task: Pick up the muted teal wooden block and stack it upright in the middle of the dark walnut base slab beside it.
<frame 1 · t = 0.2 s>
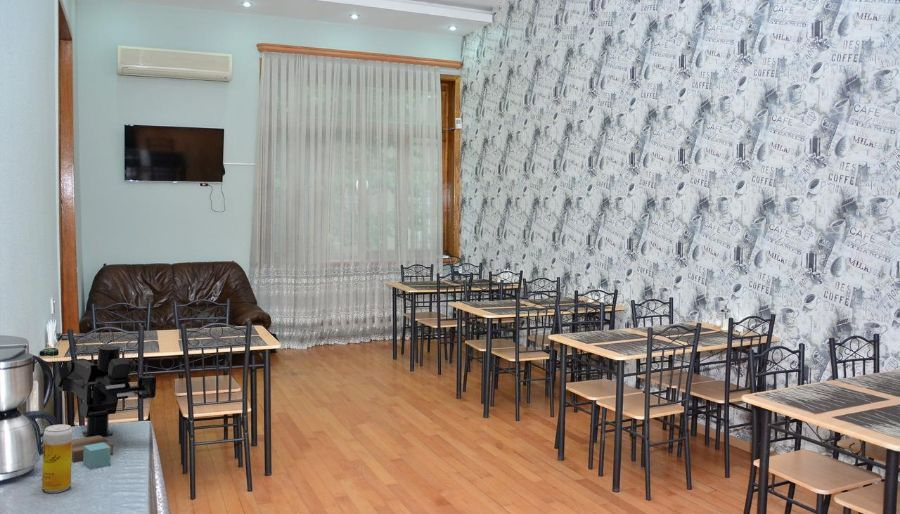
hand: (133, 397, 193), 17 cm above the table, tool horizontal, fingers open, 9 cm apart
block: (96, 465, 188), on the table
beer can: (56, 489, 171), on the table
walnut base: (87, 453, 195), on the table
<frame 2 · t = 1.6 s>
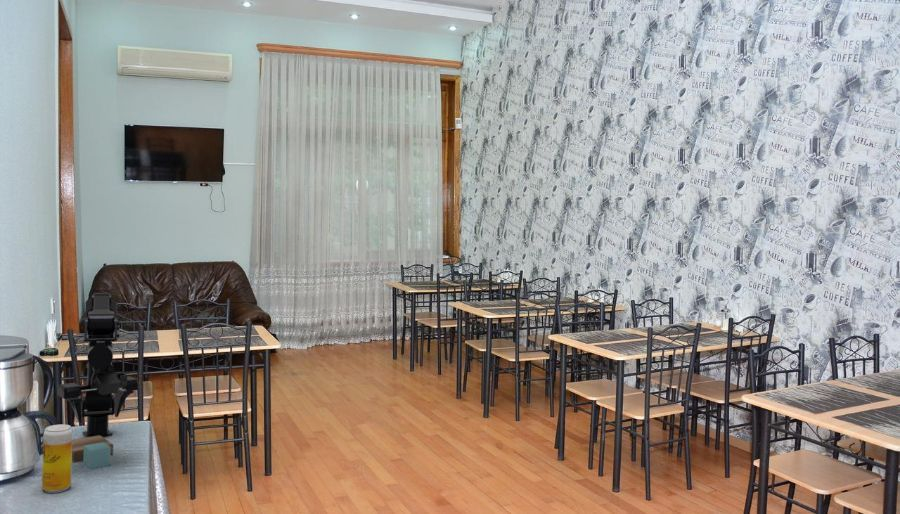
hand: (98, 419, 187), 12 cm above the table, tool pointing down, fingers open, 9 cm apart
nothing on the table moved.
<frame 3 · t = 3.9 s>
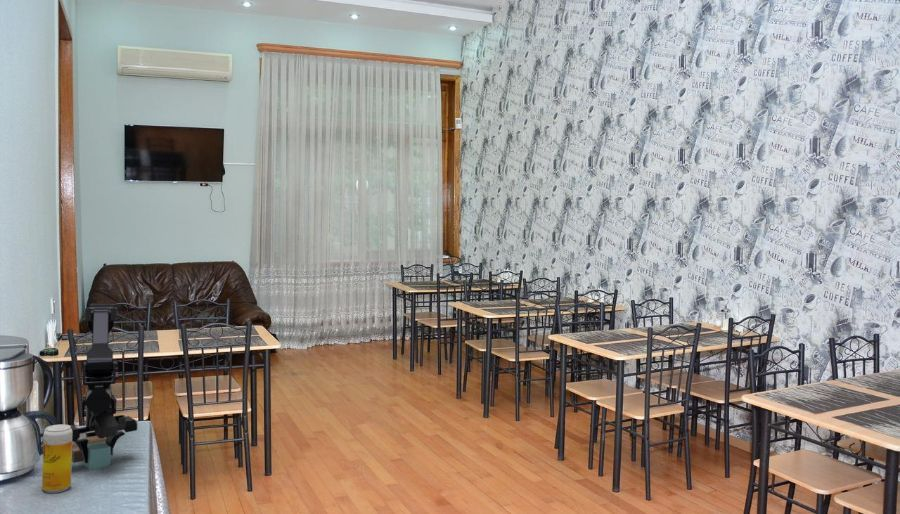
hand: (96, 460, 188), 1 cm above the table, tool pointing down, fingers closed on block, 5 cm apart
block: (96, 464, 188), on the table, touching gripper
everything else where it was.
when the fingers open (5 cm above the table, at t = 8.0 s): block drops 1 cm, resting on walnut base.
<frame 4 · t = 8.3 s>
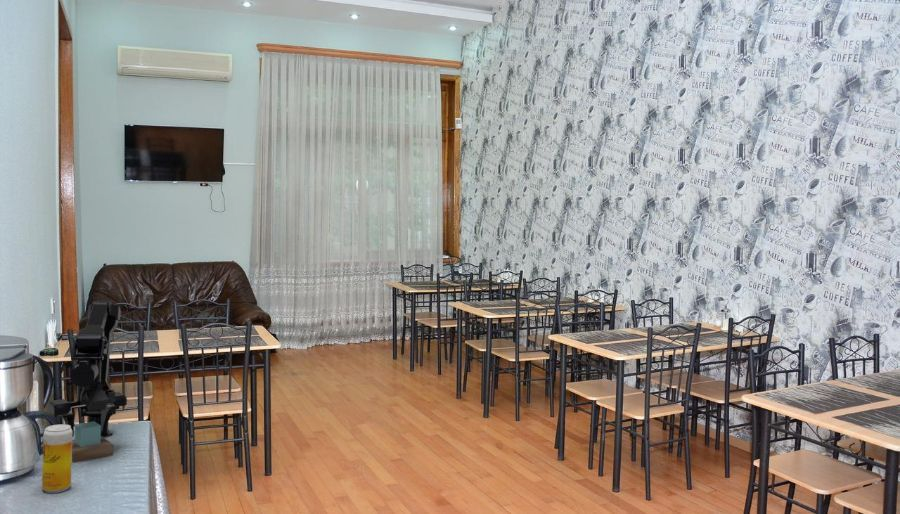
hand: (87, 434, 195), 5 cm above the table, tool pointing down, fingers open, 8 cm apart
block: (87, 442, 195), point 3 cm above the table, touching walnut base
everything else where it was.
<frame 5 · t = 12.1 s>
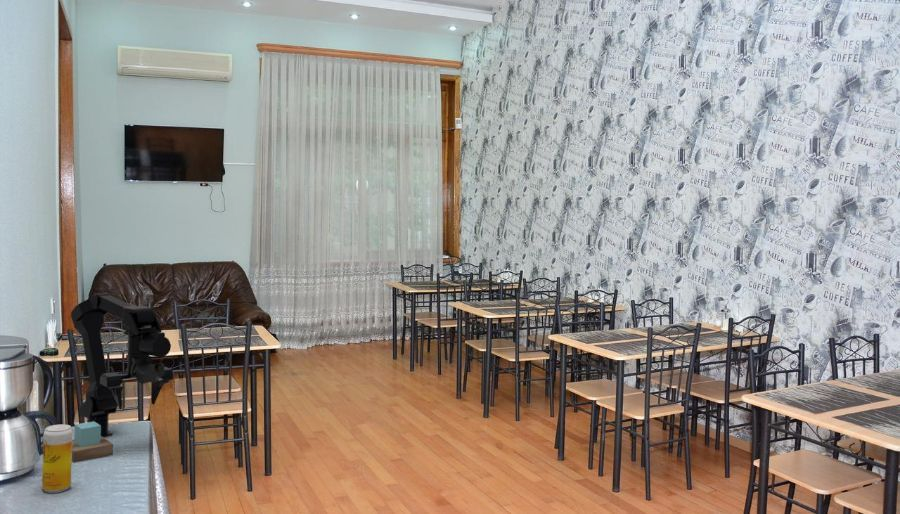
hand: (136, 406, 201), 12 cm above the table, tool pointing down, fingers open, 9 cm apart
nothing on the table moved.
at the end: block 0.0 cm off-centre on the walnut base, point 3.0 cm above the walnut base's base; block tilted 0°; the gripper is holding nothing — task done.
